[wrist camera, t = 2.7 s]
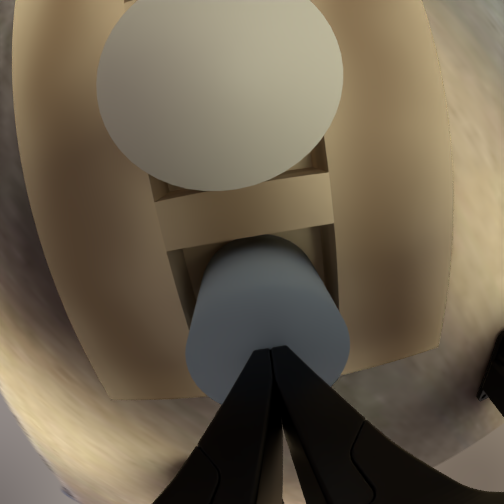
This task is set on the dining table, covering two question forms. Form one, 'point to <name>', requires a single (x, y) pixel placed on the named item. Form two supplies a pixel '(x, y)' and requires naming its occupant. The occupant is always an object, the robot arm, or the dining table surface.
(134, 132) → the white rounded piece
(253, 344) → the blue button
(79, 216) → the light wood flat tray
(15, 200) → the dining table surface
